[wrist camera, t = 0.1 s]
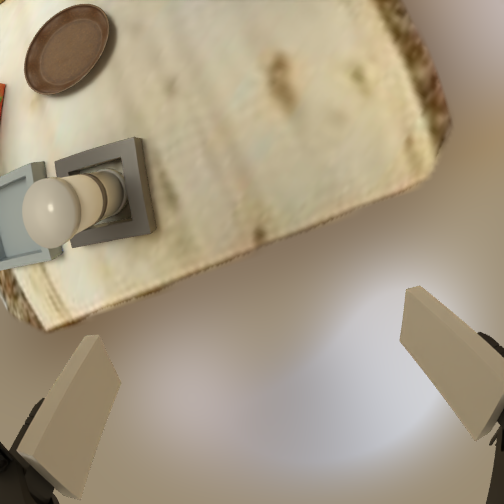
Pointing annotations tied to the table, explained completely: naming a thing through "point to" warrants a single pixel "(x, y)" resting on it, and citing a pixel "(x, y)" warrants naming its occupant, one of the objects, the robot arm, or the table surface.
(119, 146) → the dark grey square frame
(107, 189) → the cylinder
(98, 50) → the saucer
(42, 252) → the tray
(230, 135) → the table surface
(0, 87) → the cracker box
